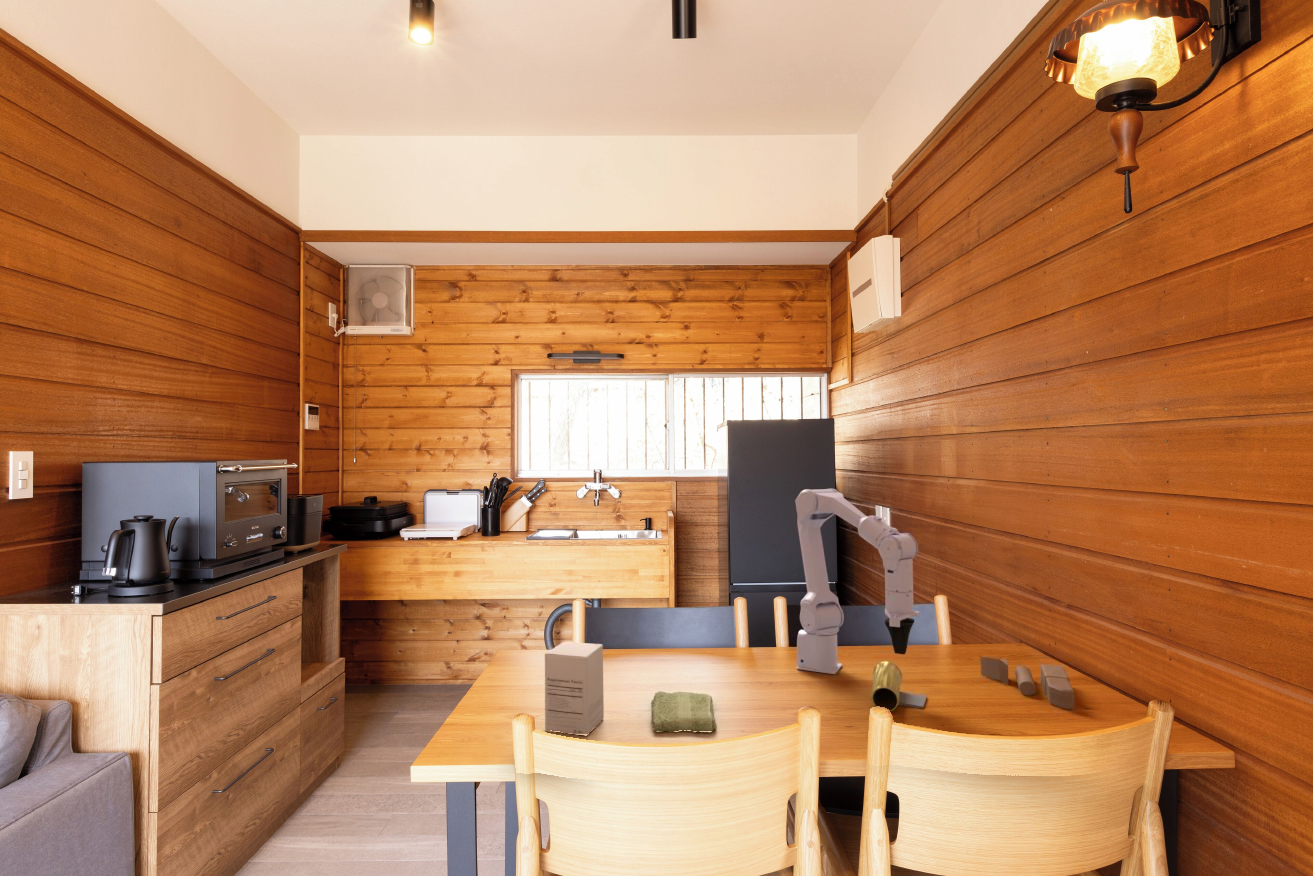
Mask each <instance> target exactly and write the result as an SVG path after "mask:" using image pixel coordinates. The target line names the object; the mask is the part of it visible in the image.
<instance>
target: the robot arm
mask: <svg viewBox="0 0 1313 876" xmlns="http://www.w3.org/2000/svg"><path fill="white" fill-rule="evenodd" d="M794 501H795V510H796V514H797V520H796V521H797V522H796V523H797V531H798V536H799V538H798V539H799V543H800V550H801V557H802V564H803V565H802V566H803V571H804V578H805V584H806V590H807V591H806V592H807V593H806V594H805V595H804V597H803V598H802V599H801V600H800V601H799V603H800V613H799V621H800V624H801V626H802V628H803V629H800V630H799V631H798V632H797V633H798V634H797V637H796V638H797V639H796V664H797V665H796V670H804V671H810V672H815V673H816V672H817V673H823V674H830V675H836V674H837V673H838V671H839V670H840V669H841V667H842V666H843V663H840V662H838V632H839V631H840V627H841V626H842V625H843V623H844V620H845V617H844V611H843V608H842V607H841V605H840V601H839V597H838V596H837V595H836V594H835V593H833V592H832V591H831V590H830V583H829V582H830V581H829V575H828V572H827V571H828V570H827V565H826V556H825V551H824V543H823V539H822V538H823V537H822V532H821V527H822V526H823V524H824V523H825V522H826V521H828V519H830V518H831V517H832V516H835V515H836V516H838V517H839V518H840V519H843V521H846V522H847V523H848V524H850V525H852V526H854V527H856V528H857V532H858V536H859V537H861V538H862V539H863V540H865V541H866V542H867V543H869V544H870V545H872V546H873V547H874V548H875V549H876V550H878V553H879V555H880V557H881V559H882V566H883V568H884V589H885V590H884V591H885V592H884V593H885V594H884V598H885V599H884V600H885V609H884V615H886V617H887V618H886V619H884V624H885V626H886V628H887V630H888V633H889V635H890V638H891V643H892V647H893V648H892V649H893V652H894V654H897V655H906V653H907V649H908V645H909V644H908V643H909V637H910V633H911V630H912V627H913V625H914V623H915V619H914V618H911V617H919V616H920V611H919V610H918V611H917V610H914V567H913V566H914V563H913V562H914V561H913V559H915V558H917V556H918V553H919V544H918V541H917V540H916V539H915V537H914V536H912V534H910V533H908V532H902V533H900V532H899V530H898V528H896V527H892V526H890V525H888V524H887V523H886V522H884V520H883V517H882V516H880V515H868V516H867V515H865V514H864V513H863V512H862V511H861V510H859V509H858V507H856V506H855V505H853V504H852V503H850V501H848V500H847V499H846V498H844V494H843V493H842V492H839V491H838V490H837V489H835V488H825V489H822V488H821V489H808V488H807V489H803V490H801V491H800V493H799V494H798V495H797V497H796V499H795V500H794Z"/></svg>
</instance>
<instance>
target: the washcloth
mask: <svg viewBox="0 0 1313 876" xmlns="http://www.w3.org/2000/svg"><path fill="white" fill-rule="evenodd" d="M650 704H651V723H652V729H653V728H654V730H653V732H655V731H679V730H682V731H684V730H686V731H687V730H691V731H713V732H714V730H716V728H717V722H716V719H715V717H714V716H715V715H714V714H715V713H714V709H713V697H712V696H711V695H710V694H707V693H697V692H696V693H695V692H687V691H676V692H666V691H660V690H659V691H657V692H655V693H654V696H653V698H652V700H651V702H650ZM682 731H681V732H682Z"/></svg>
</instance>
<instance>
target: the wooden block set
mask: <svg viewBox="0 0 1313 876" xmlns="http://www.w3.org/2000/svg"><path fill="white" fill-rule="evenodd" d="M1039 668H1040V683H1041V686H1042V690H1043V692H1044V695H1045V696H1046V697H1047V699H1048V702H1049V704H1050V705H1052V706H1054V707H1057V708H1059V709H1062V710H1067V711H1068V710H1069V711H1073V710H1075V691H1074V689H1073V687H1072V685H1071V681H1070V678H1069V676H1068V674H1067V672H1066V669H1065V668H1064V666H1062V665H1055V664H1048V663H1047V664H1046V663H1042V664H1040V666H1039ZM981 675H983V676H982V677H984V676H986V677H985V678H986V679H989V678H990V679H989V680H992V679H993V681H995V680H997V681H996V682H998V681H999V683H1001V682H1002V683H1001V684H1004V683H1005V685H1007V684H1008V685H1009V663H1008V660H1007V658H1006V659H1005V658H997V657H996V658H995V657H987V656H986V657H985V656H980V676H981ZM1014 675H1015V678H1016V682H1017V686H1018V690H1019V692H1020V694H1022V695H1024V696H1027V695H1028V696H1033V695H1034V694H1036V691H1037V687H1036V684H1035V681H1034V678H1033V676H1032V671H1031V669H1030V668H1029V667H1028V666H1025V665H1018V666H1016V668H1015V669H1014ZM1028 696H1027V697H1028Z"/></svg>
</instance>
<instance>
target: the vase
mask: <svg viewBox="0 0 1313 876" xmlns="http://www.w3.org/2000/svg"><path fill="white" fill-rule="evenodd" d="M872 676H873V677H872V679H873V680H872V689H871V691H872V692H871V697H870V698H871V701H872V704H873V705H874V707H875V706H880V707H885V708H887V709H889V710H890V711H891V712H893V711H895V710H896V709H897V708H898V706H899V705H898V703H899V691H900V688H901V683H902V681H903V673H902V670H901V669H900V667H899V666H898V665H897V664H895V663H894V662H891V661H886V660H885V661H881V662H879V663H877V664H876V665H875V666H874V668H873V672H872ZM900 692H901V691H900Z"/></svg>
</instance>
